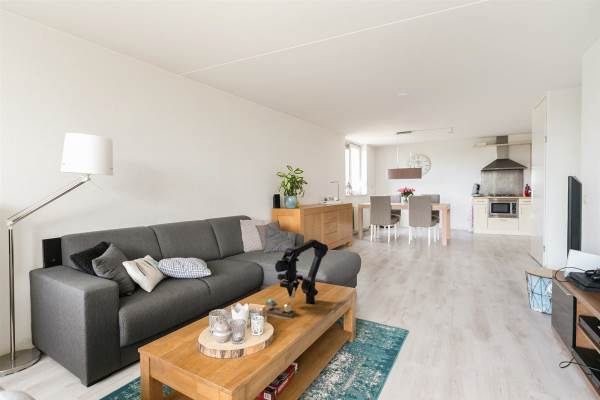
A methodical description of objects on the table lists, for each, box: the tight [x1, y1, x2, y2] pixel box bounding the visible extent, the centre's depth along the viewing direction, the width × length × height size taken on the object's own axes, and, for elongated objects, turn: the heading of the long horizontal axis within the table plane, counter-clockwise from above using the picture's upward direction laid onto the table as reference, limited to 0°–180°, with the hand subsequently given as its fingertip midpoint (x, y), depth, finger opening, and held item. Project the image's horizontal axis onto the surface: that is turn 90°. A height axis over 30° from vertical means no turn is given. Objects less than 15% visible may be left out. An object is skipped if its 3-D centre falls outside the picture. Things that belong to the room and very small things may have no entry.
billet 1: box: [283, 302, 292, 315], centre depth 176 cm, size 4×4×6 cm
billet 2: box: [288, 286, 296, 299], centre depth 187 cm, size 4×4×6 cm
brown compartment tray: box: [265, 306, 299, 320], centre depth 178 cm, size 11×17×3 cm, turn 63°
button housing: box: [265, 300, 277, 307], centre depth 192 cm, size 4×4×3 cm
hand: (292, 295), depth 187 cm, fingers closed on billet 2, 4 cm apart
